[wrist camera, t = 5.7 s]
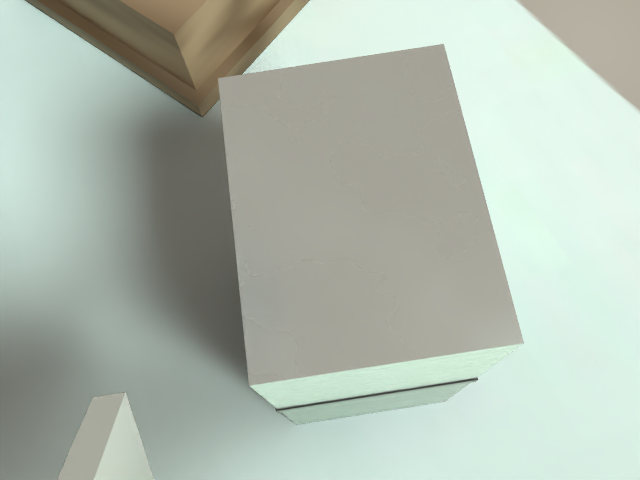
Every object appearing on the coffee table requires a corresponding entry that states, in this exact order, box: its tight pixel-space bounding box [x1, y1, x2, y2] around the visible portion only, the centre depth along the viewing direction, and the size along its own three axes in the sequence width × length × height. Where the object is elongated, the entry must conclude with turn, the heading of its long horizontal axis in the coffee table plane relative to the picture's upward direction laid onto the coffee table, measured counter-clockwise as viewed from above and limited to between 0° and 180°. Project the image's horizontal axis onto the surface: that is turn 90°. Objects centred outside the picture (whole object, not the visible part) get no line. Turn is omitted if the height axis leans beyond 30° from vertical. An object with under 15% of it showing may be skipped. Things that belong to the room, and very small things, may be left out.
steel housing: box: [218, 44, 524, 425], centre depth 20 cm, size 6×8×12 cm
